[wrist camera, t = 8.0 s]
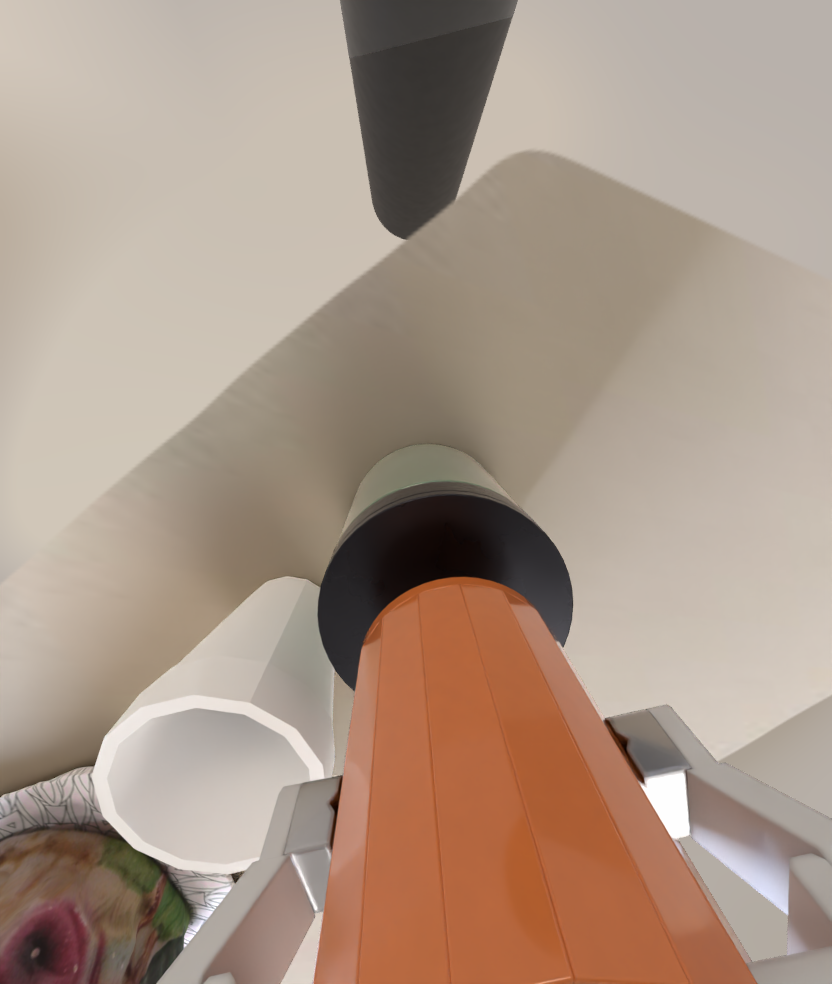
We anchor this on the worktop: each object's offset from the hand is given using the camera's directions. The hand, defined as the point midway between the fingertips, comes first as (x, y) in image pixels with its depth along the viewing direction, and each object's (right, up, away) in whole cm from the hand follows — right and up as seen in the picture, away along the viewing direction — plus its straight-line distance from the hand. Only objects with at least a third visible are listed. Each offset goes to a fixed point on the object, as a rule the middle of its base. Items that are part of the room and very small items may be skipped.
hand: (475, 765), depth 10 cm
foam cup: (-10, -2, +20) cm, 22 cm away
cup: (0, +1, +4) cm, 4 cm away
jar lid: (0, +2, +7) cm, 7 cm away
